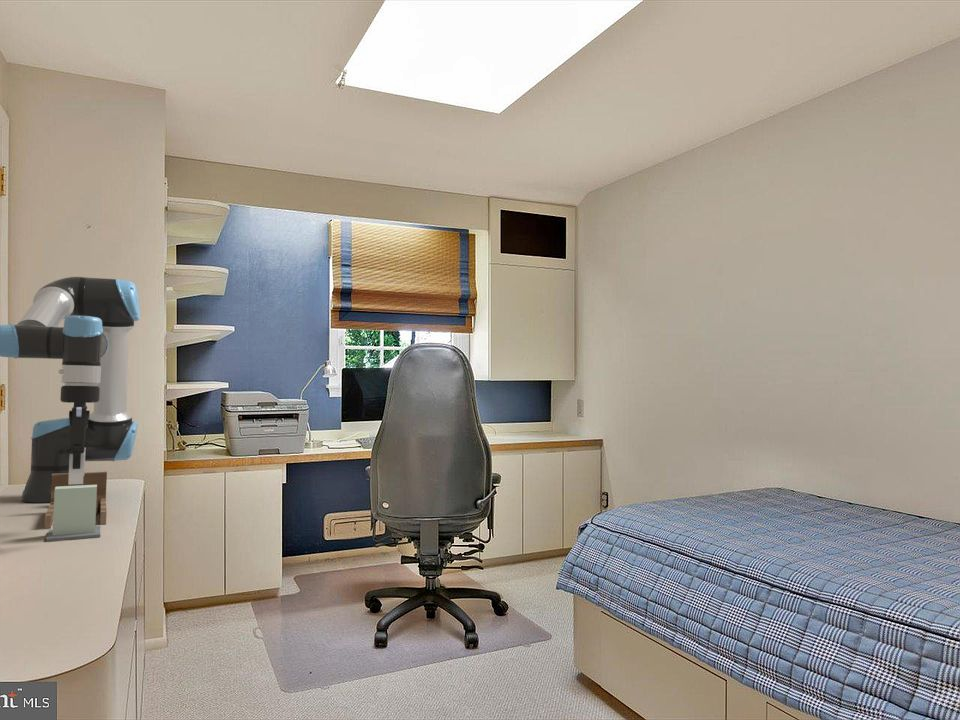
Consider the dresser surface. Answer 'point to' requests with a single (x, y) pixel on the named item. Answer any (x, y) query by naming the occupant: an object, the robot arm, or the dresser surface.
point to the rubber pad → (73, 535)
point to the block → (74, 509)
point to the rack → (88, 479)
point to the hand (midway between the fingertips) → (76, 480)
